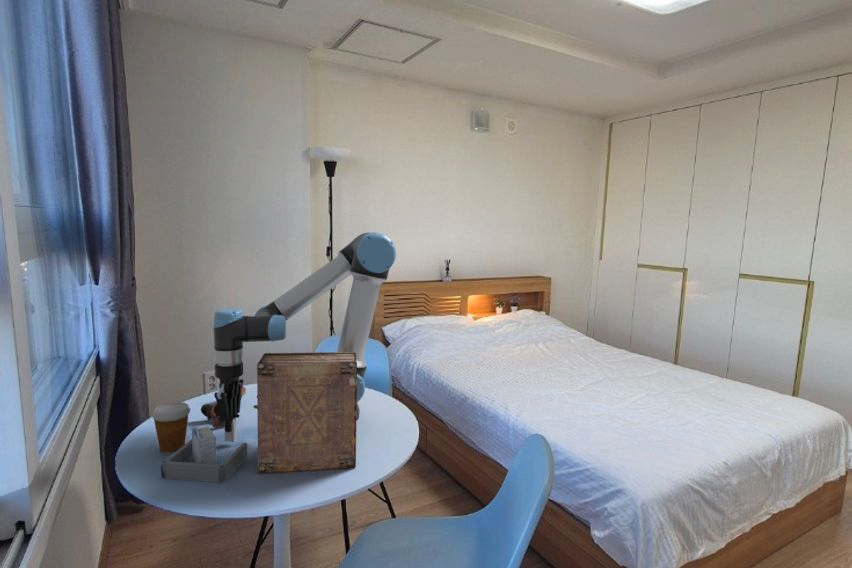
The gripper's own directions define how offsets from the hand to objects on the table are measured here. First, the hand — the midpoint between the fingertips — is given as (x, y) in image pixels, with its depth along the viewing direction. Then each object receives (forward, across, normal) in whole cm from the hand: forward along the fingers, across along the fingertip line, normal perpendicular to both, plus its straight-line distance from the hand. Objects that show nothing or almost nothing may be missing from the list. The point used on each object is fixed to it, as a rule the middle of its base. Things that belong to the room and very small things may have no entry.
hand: (230, 440), depth 129 cm
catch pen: (+1, +12, 0) cm, 12 cm away
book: (+2, +7, +26) cm, 27 cm away
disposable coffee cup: (+2, +4, -15) cm, 16 cm away
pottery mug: (+2, -15, -11) cm, 18 cm away
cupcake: (+2, -30, -14) cm, 34 cm away
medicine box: (+2, +11, -2) cm, 11 cm away
